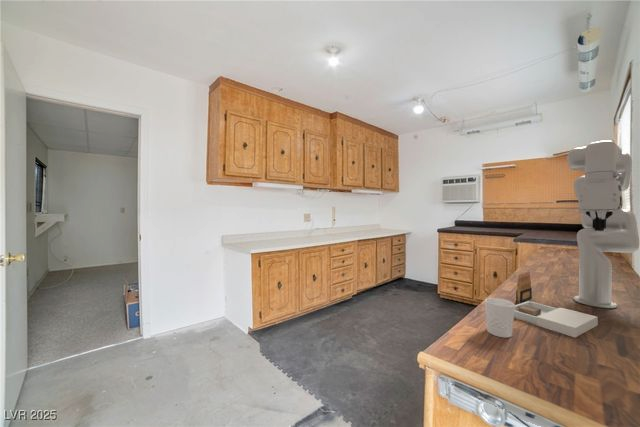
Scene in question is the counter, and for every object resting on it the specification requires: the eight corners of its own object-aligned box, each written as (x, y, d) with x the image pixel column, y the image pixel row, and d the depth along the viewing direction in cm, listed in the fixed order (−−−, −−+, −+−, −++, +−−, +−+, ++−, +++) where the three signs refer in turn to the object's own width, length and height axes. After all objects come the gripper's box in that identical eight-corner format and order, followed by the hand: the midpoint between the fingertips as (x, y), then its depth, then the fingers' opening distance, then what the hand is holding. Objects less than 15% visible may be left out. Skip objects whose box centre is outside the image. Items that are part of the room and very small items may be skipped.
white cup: (509, 329, 88) (509, 299, 88) (518, 340, 81) (518, 307, 81) (482, 326, 91) (482, 296, 91) (488, 336, 84) (488, 304, 83)
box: (528, 307, 109) (528, 300, 109) (559, 315, 100) (559, 308, 100) (505, 315, 101) (505, 308, 100) (536, 324, 92) (536, 317, 92)
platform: (560, 315, 100) (560, 307, 100) (597, 325, 91) (597, 316, 91) (536, 325, 91) (536, 316, 91) (575, 337, 83) (575, 327, 83)
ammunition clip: (520, 303, 113) (521, 275, 113) (515, 302, 115) (516, 274, 114) (531, 299, 119) (532, 271, 119) (526, 297, 120) (527, 271, 120)
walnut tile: (540, 309, 100) (540, 314, 100) (525, 304, 104) (525, 310, 104) (534, 311, 97) (534, 316, 97) (518, 307, 102) (518, 312, 102)
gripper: (635, 176, 89) (634, 231, 89) (576, 180, 102) (575, 228, 102) (628, 174, 85) (627, 232, 85) (567, 179, 98) (566, 229, 98)
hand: (599, 230), depth 94 cm, fingers closed
